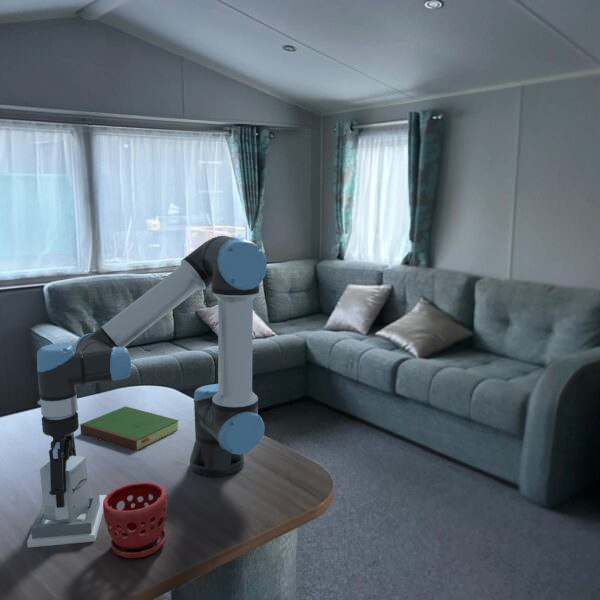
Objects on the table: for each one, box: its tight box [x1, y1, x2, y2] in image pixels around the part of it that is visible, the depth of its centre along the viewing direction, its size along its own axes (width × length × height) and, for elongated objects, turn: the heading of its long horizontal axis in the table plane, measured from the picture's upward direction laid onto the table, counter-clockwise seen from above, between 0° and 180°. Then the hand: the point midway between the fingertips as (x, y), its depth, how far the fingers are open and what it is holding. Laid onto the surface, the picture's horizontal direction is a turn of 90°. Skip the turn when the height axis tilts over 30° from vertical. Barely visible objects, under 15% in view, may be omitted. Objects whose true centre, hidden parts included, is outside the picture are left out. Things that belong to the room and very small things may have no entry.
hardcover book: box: [79, 405, 179, 452], centre depth 191 cm, size 25×19×4 cm
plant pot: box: [103, 481, 168, 559], centre depth 129 cm, size 13×13×12 cm
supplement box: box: [39, 455, 90, 522], centre depth 136 cm, size 7×7×13 cm
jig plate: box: [26, 494, 107, 548], centre depth 139 cm, size 14×18×4 cm
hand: (67, 507), depth 137 cm, fingers closed on supplement box, 9 cm apart
